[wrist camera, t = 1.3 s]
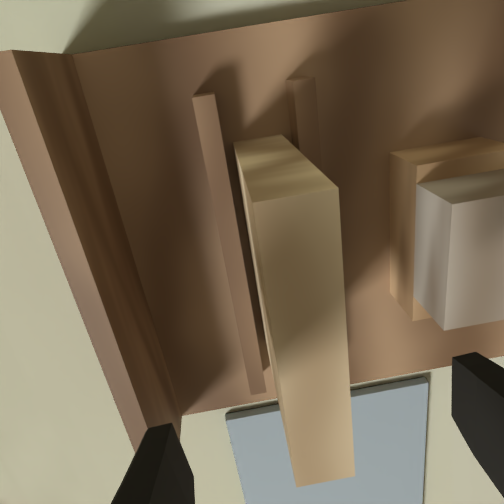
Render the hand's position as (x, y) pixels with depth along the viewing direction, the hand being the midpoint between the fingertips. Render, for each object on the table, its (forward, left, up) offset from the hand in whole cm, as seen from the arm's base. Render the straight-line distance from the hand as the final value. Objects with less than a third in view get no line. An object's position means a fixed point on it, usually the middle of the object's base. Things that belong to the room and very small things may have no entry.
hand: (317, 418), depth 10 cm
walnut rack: (-3, 0, -10) cm, 11 cm away
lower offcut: (-8, 0, -9) cm, 12 cm away
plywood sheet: (0, 0, -9) cm, 9 cm away
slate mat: (-2, +17, -10) cm, 20 cm away
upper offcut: (-8, -1, -7) cm, 10 cm away
